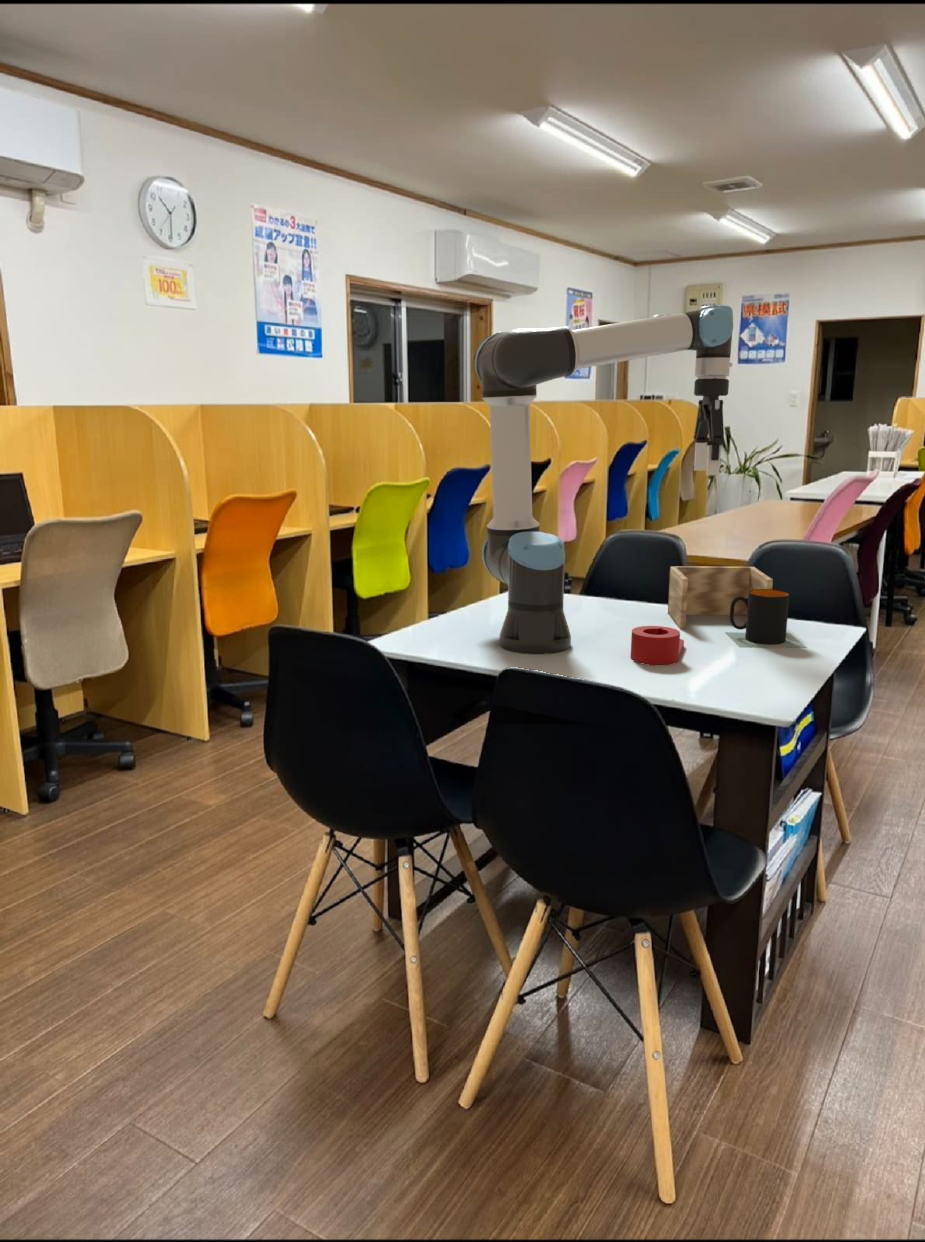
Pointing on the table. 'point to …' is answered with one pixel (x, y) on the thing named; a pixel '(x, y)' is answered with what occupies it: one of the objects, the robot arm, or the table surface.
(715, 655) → the table surface
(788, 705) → the table surface
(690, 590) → the cubby
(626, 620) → the table surface
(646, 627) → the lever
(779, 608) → the mug
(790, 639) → the mat
